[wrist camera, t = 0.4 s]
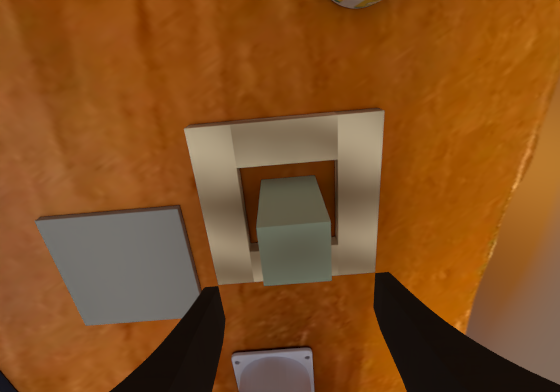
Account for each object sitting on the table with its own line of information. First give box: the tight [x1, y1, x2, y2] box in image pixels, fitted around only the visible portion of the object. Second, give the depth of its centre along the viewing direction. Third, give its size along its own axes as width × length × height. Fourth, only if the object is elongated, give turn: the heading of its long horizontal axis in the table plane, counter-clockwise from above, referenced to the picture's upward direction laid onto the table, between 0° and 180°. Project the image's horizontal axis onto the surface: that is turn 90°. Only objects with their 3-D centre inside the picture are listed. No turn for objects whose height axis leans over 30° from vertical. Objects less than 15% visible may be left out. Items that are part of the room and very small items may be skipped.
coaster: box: [35, 205, 201, 326], centre depth 25 cm, size 11×11×1 cm
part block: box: [256, 175, 332, 286], centre depth 20 cm, size 4×4×7 cm
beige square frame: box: [184, 108, 384, 285], centre depth 23 cm, size 13×13×1 cm
